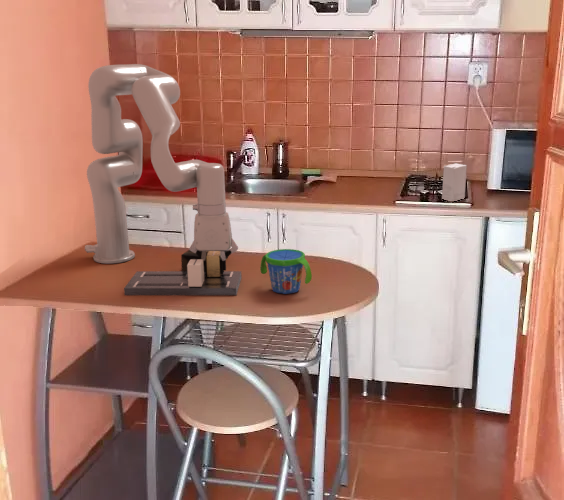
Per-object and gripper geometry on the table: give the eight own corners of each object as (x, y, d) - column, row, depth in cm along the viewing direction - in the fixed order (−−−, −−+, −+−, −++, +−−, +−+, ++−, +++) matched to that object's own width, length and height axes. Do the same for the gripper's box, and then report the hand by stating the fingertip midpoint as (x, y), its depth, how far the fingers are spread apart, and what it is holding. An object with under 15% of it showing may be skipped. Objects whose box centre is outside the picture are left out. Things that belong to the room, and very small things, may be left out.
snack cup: (251, 288, 186) (250, 253, 183) (278, 279, 193) (277, 244, 190) (294, 302, 176) (293, 264, 173) (320, 291, 183) (320, 255, 180)
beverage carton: (229, 258, 214) (229, 237, 212) (206, 277, 196) (204, 256, 194) (206, 256, 216) (205, 236, 214) (180, 275, 198) (179, 253, 196)
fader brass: (207, 276, 189) (206, 255, 187) (210, 270, 194) (209, 250, 192) (220, 276, 189) (219, 255, 187) (222, 270, 194) (221, 250, 192)
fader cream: (188, 286, 182) (187, 264, 180) (191, 280, 186) (190, 259, 185) (201, 286, 182) (200, 264, 180) (204, 280, 186) (203, 258, 185)
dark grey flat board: (124, 295, 183) (123, 287, 182) (137, 278, 196) (136, 271, 195) (236, 295, 181) (236, 287, 181) (241, 277, 195) (241, 270, 194)
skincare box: (453, 197, 290) (455, 162, 285) (465, 200, 285) (467, 164, 281) (441, 200, 285) (442, 165, 280) (452, 203, 280) (455, 167, 276)
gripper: (179, 212, 183) (183, 277, 188) (240, 212, 182) (243, 277, 187) (184, 206, 190) (187, 268, 195) (243, 205, 189) (245, 268, 195)
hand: (214, 272), depth 191 cm, fingers closed on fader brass, 3 cm apart
